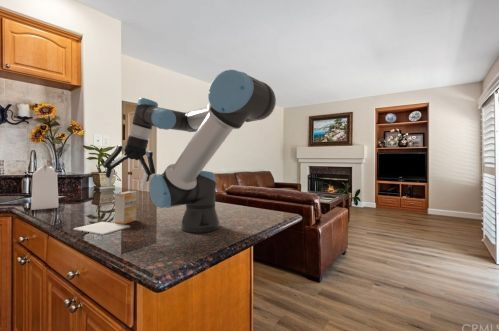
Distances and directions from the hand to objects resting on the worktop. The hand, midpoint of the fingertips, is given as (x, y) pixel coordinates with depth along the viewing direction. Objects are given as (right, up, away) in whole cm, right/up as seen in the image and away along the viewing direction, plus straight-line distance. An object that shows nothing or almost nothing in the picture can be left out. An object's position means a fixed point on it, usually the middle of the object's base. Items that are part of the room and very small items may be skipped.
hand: (125, 187), depth 102 cm
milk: (-64, -15, +37) cm, 75 cm away
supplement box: (-3, -16, +6) cm, 17 cm away
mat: (-7, -16, -4) cm, 18 cm away
